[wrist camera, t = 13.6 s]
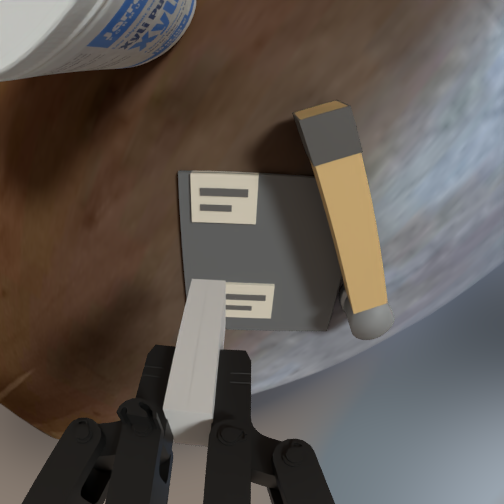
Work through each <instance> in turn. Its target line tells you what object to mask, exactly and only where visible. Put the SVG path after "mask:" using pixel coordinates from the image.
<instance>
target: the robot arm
mask: <svg viewBox="0 0 504 504" xmlns="http://www.w3.org/2000/svg"><path fill="white" fill-rule="evenodd" d="M225 325H226V281H224V280H206V279H192V281H191V285H190V289H189V293H188V297H187V301H186V305H185V309H184V313H183V318H182V322H181V326H180V330H179V335H178V339H177V344H176V347H173V346H163V345H155V346H154V347H153V349H152V350H151V351H150V352H149V353H148V355H147V359H146V362H145V367H144V369H143V373H142V377H141V380H140V384H139V388H138V391H137V395H136V398H133V399H130V400H127V401H125V402H124V403H122V404H121V405H120V406H119V408H118V410H117V414H118V416H119V418H120V419H121V420H120V421H117V422H111V423H102V424H97V423H96V422H95V421H93V420H92V419H89V418H78V419H76V420H74V421H72V422H71V424H70V425H69V426H68V427H67V429H66V430H65V432H64V434H63V435H62V437H61V438H60V440H59V442H58V443H57V445H56V446H55V448H54V450H53V451H52V453H51V455H50V456H49V458H48V460H47V461H46V463H45V465H44V466H43V468H42V470H41V471H40V473H39V475H38V476H37V478H36V480H35V481H34V483H33V485H32V487H31V488H30V490H29V492H28V494H27V495H26V497H25V499H24V501H23V502H22V504H103V503H104V501H105V499H106V503H105V504H167V502H168V494H169V486H170V478H171V471H172V463H173V452H172V443H173V439H174V442H175V443H177V444H185V445H195V446H206V447H208V453H207V465H206V475H205V488H204V500H203V504H251V503H250V501H251V482H253V483H256V484H259V485H262V486H266V487H267V490H268V493H269V496H270V499H271V502H272V504H335V503H334V500H333V498H332V495H331V493H330V490H329V488H328V485H327V483H326V480H325V478H324V475H323V473H322V470H321V467H320V465H319V463H318V460H317V457H316V455H315V452H314V450H313V449H312V447H311V446H310V445H309V444H308V443H306V442H305V441H303V440H299V439H287V440H285V441H278V440H275V439H272V438H268V437H266V436H264V435H262V434H260V433H259V432H258V431H257V430H256V429H255V428H254V427H253V425H252V422H251V360H250V358H249V356H248V354H247V352H246V351H242V350H223V348H224V336H225Z"/></svg>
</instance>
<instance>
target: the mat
mask: <svg viewBox="0 0 504 504" xmlns="http://www.w3.org/2000/svg"><path fill="white" fill-rule="evenodd" d="M191 172H192V171H178V186H179V206H180V223H181V238H182V252H183V264H184V276H185V287H186V298H187V297H188V293H189V289H190V285H191V281H192V279H206V280H224V281H226V282H237V283H262V284H275V287H274V296H273V304H272V313H271V319H269V318H239V317H226V325H225V329H236V330H265V331H327V329H328V325H329V322H330V318H331V314H332V311H333V307H334V303H335V300H336V296H337V292H338V288H339V285H340V281H341V277H342V273H341V269H340V265H339V261H338V257H337V253H336V249H335V246H334V242H333V238H332V234H331V231H330V227H329V223H328V220H327V216H326V213H325V209H324V206H323V202H322V199H321V195H320V192H319V189H318V185H317V182H316V179H315V176H302V175H288V174H271V173H259V174H258V175H259V180H258V196H257V212H256V224H234V223H207V222H192V210H191V179H190V173H191ZM196 173H220V172H196ZM223 173H224V172H223ZM235 174H245V173H235ZM246 174H247V173H246Z"/></svg>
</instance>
